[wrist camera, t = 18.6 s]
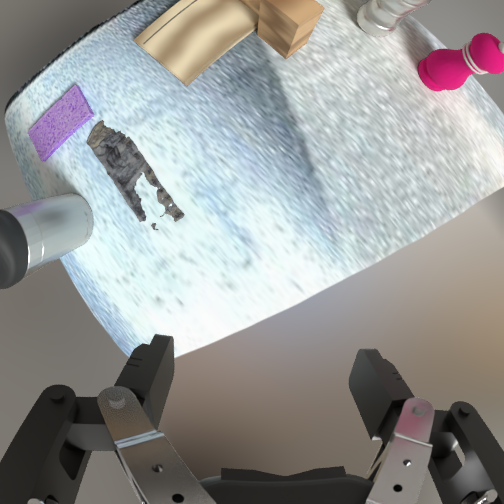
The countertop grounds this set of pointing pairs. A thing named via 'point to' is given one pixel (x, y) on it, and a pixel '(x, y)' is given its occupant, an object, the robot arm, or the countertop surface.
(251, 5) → the block
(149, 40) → the pine board
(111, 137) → the driftwood
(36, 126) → the sponges
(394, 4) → the plastic bottle
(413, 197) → the countertop surface
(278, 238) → the countertop surface
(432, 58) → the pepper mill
